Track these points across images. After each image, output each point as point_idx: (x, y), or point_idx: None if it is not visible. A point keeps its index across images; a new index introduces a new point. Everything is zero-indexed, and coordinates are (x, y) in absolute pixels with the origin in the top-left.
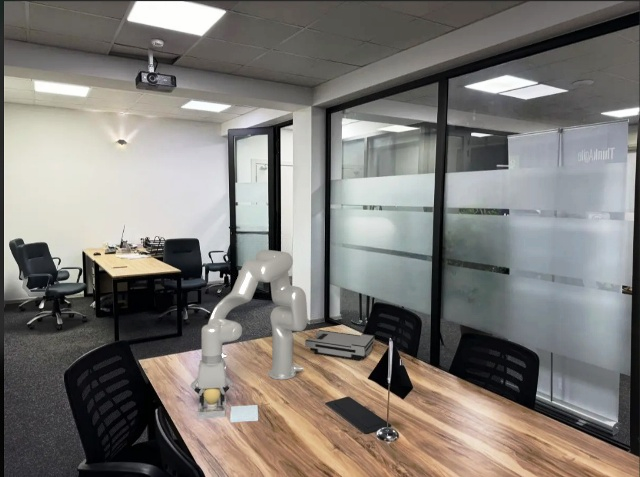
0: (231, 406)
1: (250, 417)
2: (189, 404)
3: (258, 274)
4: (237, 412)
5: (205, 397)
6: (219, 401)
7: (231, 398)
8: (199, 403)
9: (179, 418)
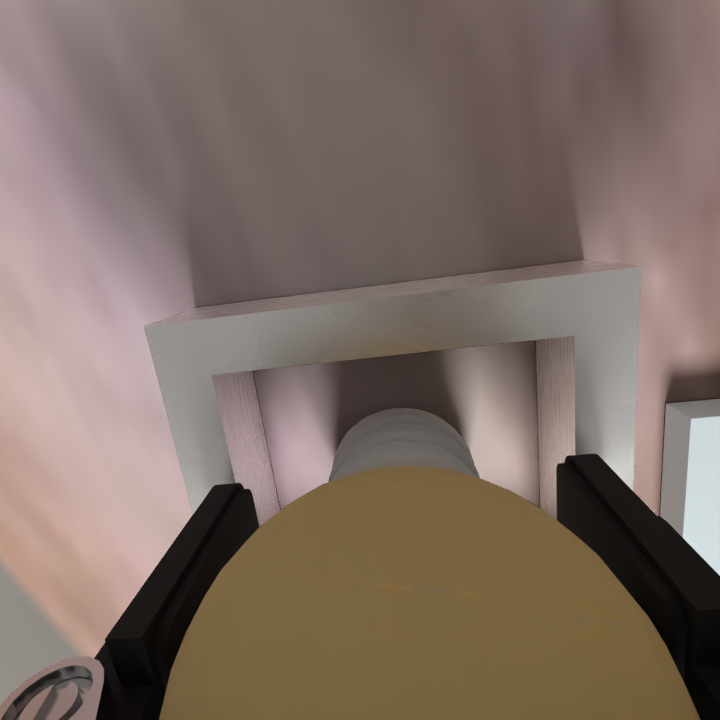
0: (695, 417)
1: None
2: (25, 257)
3: None
4: None
5: None
6: (500, 338)
7: (674, 11)
8: (181, 455)
9: (69, 590)
